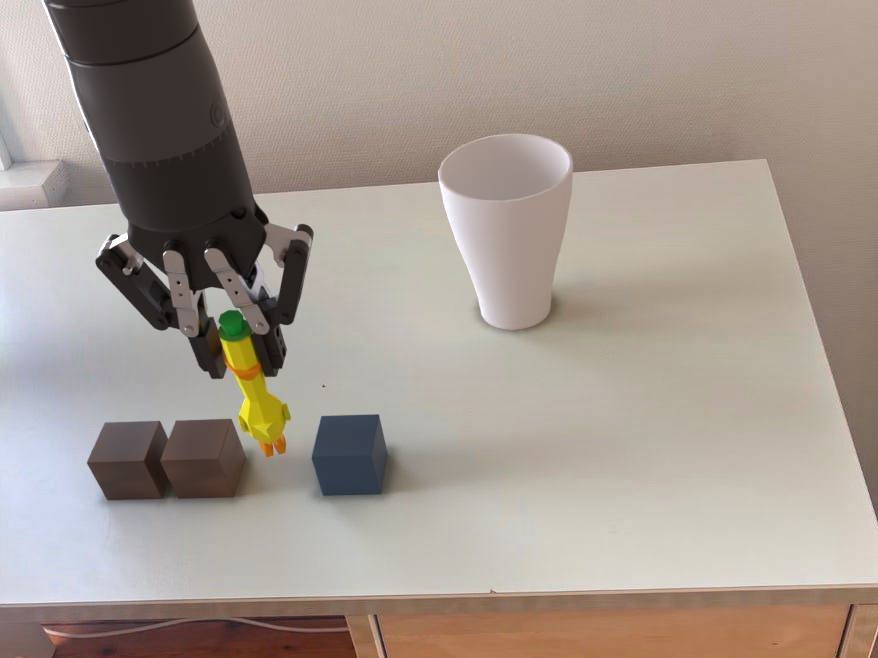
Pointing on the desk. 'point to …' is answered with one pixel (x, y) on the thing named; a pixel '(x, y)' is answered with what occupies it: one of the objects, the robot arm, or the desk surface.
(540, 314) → the cup
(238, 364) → the toy figure
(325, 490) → the block
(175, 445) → the block
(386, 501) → the desk surface
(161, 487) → the block
